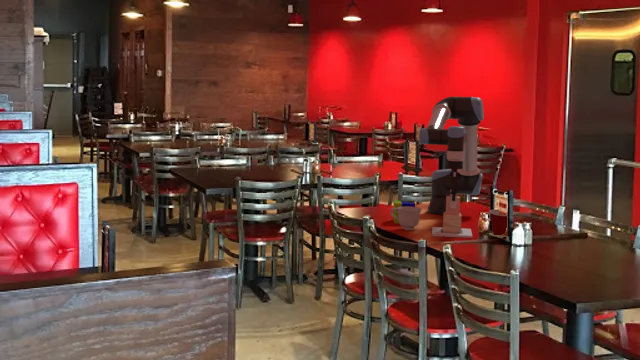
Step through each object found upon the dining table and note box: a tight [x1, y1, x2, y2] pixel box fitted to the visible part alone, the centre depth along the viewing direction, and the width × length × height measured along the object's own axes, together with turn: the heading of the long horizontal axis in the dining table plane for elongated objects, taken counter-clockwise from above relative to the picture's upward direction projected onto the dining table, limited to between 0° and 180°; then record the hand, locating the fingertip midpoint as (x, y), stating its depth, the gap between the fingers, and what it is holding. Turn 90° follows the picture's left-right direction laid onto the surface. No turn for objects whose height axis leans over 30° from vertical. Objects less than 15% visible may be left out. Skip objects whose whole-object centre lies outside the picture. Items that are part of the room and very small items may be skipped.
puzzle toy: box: [392, 200, 416, 224], centre depth 405 cm, size 10×10×10 cm
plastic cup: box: [488, 209, 514, 235], centre depth 369 cm, size 11×11×12 cm
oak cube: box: [442, 212, 462, 233], centre depth 376 cm, size 8×8×8 cm
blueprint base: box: [431, 226, 473, 239], centre depth 377 cm, size 18×18×1 cm
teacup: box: [390, 206, 423, 231], centre depth 385 cm, size 12×15×10 cm
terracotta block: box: [446, 195, 461, 215], centre depth 375 cm, size 6×6×8 cm
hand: (452, 205), depth 375 cm, fingers open, 13 cm apart
